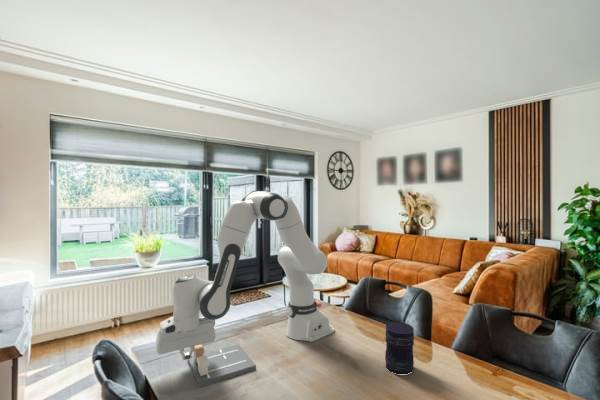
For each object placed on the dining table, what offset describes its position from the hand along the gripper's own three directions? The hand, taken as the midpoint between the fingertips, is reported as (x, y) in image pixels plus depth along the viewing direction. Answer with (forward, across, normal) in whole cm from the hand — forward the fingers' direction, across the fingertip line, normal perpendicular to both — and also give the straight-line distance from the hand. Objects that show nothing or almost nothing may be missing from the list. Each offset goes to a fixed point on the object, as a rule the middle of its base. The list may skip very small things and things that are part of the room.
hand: (186, 358), depth 113 cm
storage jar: (+4, -66, +40) cm, 77 cm away
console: (+4, -11, +5) cm, 13 cm away
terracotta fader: (+2, -4, 0) cm, 4 cm away
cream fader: (+1, -4, +9) cm, 10 cm away
